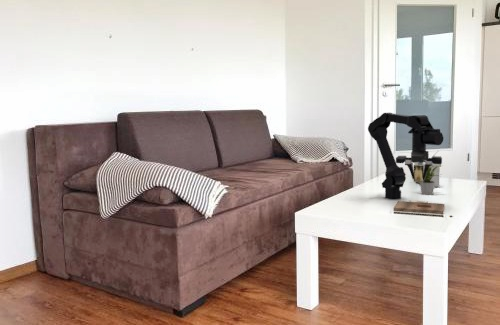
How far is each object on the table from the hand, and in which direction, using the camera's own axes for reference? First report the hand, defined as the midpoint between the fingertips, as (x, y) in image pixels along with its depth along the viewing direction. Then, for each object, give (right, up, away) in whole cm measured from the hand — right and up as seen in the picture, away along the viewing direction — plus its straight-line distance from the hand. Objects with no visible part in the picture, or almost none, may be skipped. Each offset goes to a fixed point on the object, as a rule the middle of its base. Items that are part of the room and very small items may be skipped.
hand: (418, 179), depth 202 cm
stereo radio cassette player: (+24, -5, +53) cm, 59 cm away
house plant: (+15, -9, +26) cm, 31 cm away
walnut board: (-1, -13, -5) cm, 14 cm away
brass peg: (0, -1, 0) cm, 1 cm away
